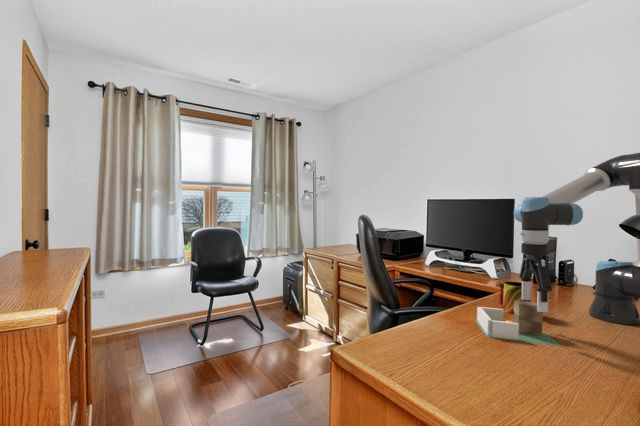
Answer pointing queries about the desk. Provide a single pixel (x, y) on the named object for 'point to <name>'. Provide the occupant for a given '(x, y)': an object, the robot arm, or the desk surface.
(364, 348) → the desk surface
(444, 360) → the desk surface
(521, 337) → the mat
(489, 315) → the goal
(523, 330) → the player block
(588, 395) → the desk surface
